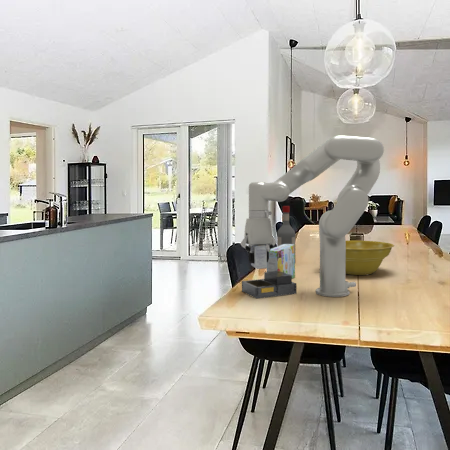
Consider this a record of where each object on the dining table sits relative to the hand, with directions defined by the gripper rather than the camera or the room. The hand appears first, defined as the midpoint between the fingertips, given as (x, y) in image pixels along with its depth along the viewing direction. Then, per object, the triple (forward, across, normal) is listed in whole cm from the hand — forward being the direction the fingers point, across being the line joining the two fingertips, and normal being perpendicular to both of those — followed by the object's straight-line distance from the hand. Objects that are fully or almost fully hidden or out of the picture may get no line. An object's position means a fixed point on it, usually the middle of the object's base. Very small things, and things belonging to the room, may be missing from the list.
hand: (258, 261), depth 179 cm
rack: (+12, -4, 0) cm, 13 cm away
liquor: (+12, -42, -53) cm, 69 cm away
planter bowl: (+12, -59, -17) cm, 63 cm away
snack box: (+13, -18, -16) cm, 27 cm away
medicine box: (+2, 0, 0) cm, 2 cm away
